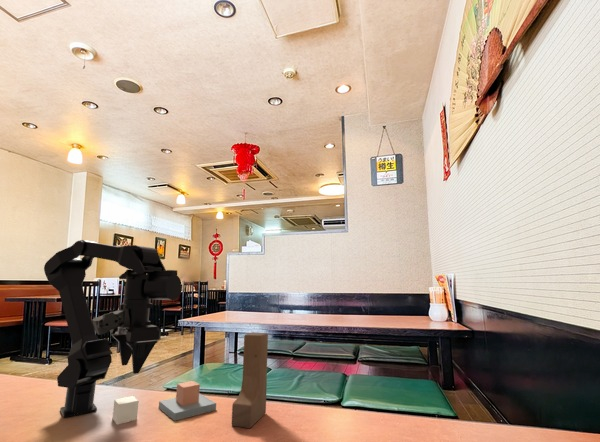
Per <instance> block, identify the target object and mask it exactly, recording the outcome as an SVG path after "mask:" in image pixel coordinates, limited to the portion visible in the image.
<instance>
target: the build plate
mask: <svg viewBox="0 0 600 442" xmlns="http://www.w3.org/2000/svg"><path fill="white" fill-rule="evenodd" d="M158 409H160V411H162V413H164V414H166V415H167V416H168V417H169V418H170V419H172V420H173V421H174V422H175V421H180V420H182V419H186V418H189V417H194V416H198V415H202V414H205V413H209V412H213V411H216V410H217V402H215V401H213V400H212V399H210V398H208V397H207V396H205V395H203V394H201V393H200V392H199V402H198V403H193V404H189V405H185V406H182V405H180V404H179V403H177V402H176V397H173V398H168V399H162V400H159V401H158Z"/></svg>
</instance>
